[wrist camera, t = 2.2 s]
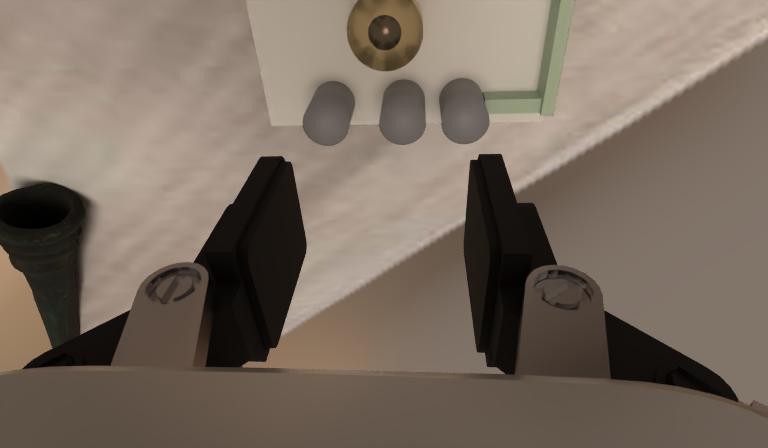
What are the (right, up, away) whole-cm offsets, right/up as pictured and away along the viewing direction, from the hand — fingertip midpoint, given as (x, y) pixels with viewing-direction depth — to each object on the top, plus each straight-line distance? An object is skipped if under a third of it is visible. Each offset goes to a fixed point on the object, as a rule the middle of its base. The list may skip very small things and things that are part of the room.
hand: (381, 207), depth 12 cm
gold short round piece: (0, +13, +17) cm, 21 cm away
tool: (-33, -7, +36) cm, 49 cm away
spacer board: (+1, +13, +18) cm, 22 cm away
